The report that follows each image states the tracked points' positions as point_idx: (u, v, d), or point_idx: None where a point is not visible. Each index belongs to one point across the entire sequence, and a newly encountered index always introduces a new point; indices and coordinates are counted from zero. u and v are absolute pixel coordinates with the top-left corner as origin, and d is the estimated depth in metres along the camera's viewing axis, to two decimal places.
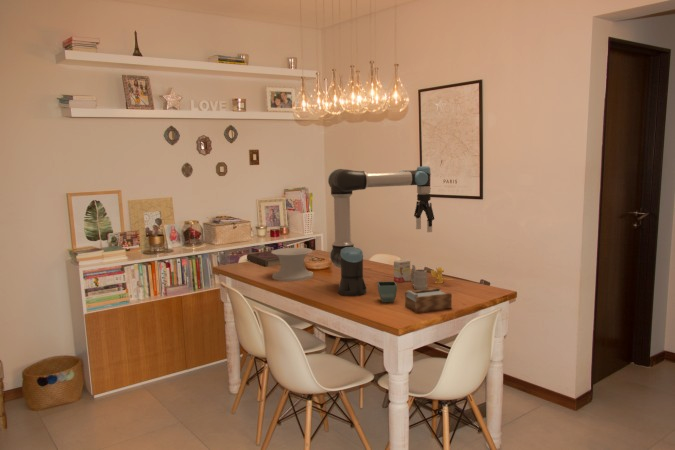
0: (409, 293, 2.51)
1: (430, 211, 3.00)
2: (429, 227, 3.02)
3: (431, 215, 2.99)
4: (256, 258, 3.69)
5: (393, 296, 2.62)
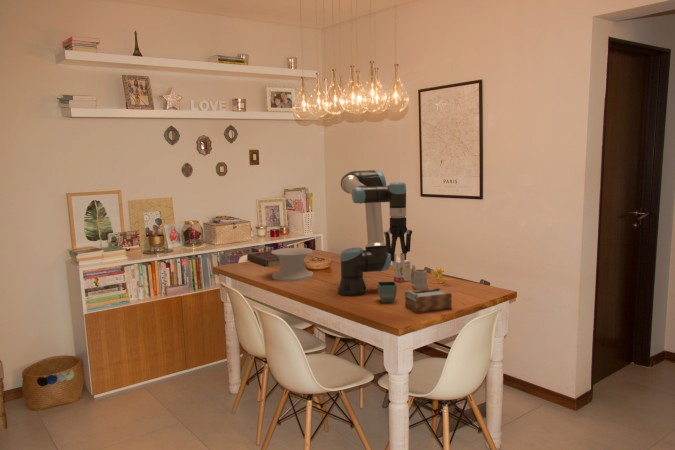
0: (409, 293, 2.51)
1: (386, 242, 2.43)
2: (393, 262, 2.46)
3: (387, 248, 2.44)
4: (256, 258, 3.69)
5: (393, 296, 2.62)
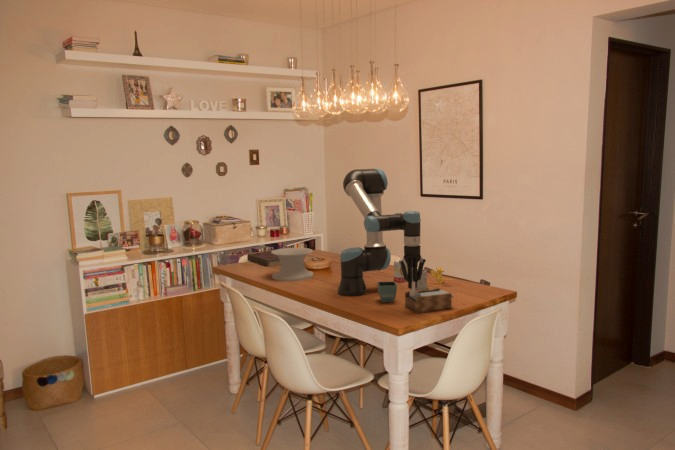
0: None
1: (402, 270, 2.48)
2: (410, 289, 2.50)
3: (404, 276, 2.48)
4: (257, 258, 3.69)
5: (393, 296, 2.62)
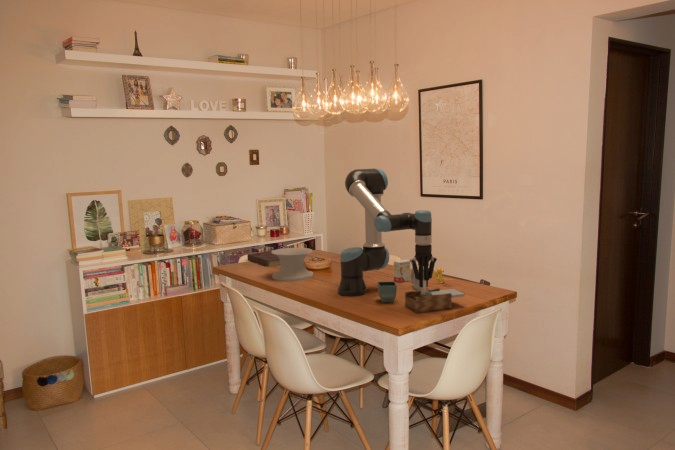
0: None
1: (413, 269, 2.49)
2: (421, 288, 2.52)
3: (415, 274, 2.50)
4: (257, 258, 3.69)
5: (393, 296, 2.62)
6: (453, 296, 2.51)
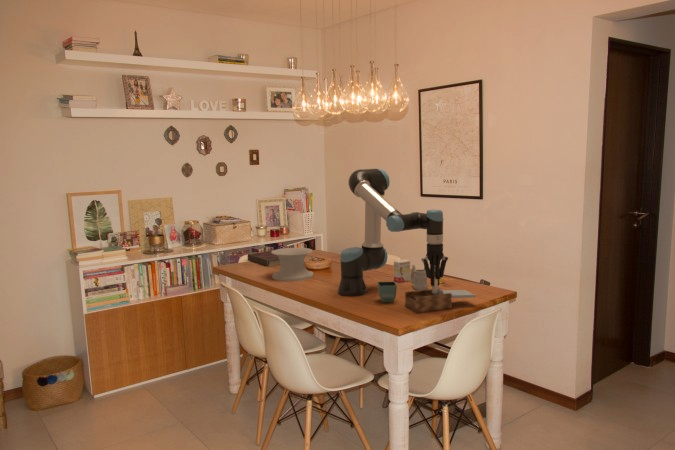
0: None
1: (425, 268, 2.51)
2: (433, 286, 2.53)
3: (426, 273, 2.51)
4: (257, 258, 3.69)
5: (393, 296, 2.62)
6: (464, 296, 2.53)
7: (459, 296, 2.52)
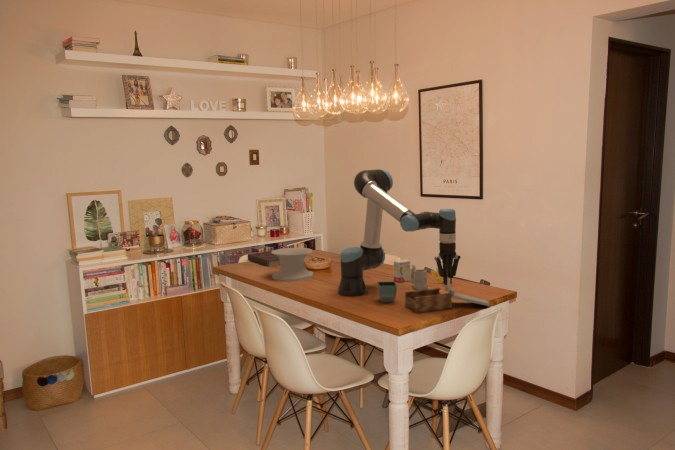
0: None
1: (438, 266, 2.53)
2: (445, 285, 2.56)
3: (439, 272, 2.54)
4: (257, 258, 3.69)
5: (393, 296, 2.62)
6: (476, 302, 2.50)
7: (471, 300, 2.50)
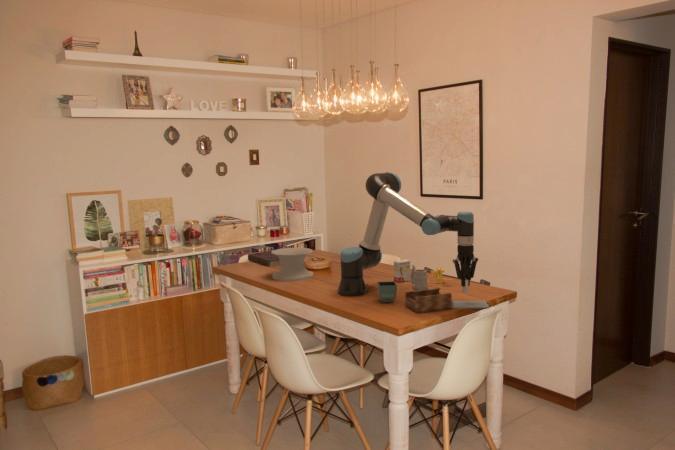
0: None
1: (456, 269, 2.56)
2: (463, 287, 2.59)
3: (457, 274, 2.57)
4: (258, 258, 3.69)
5: (393, 296, 2.62)
6: None
7: (470, 307, 2.51)
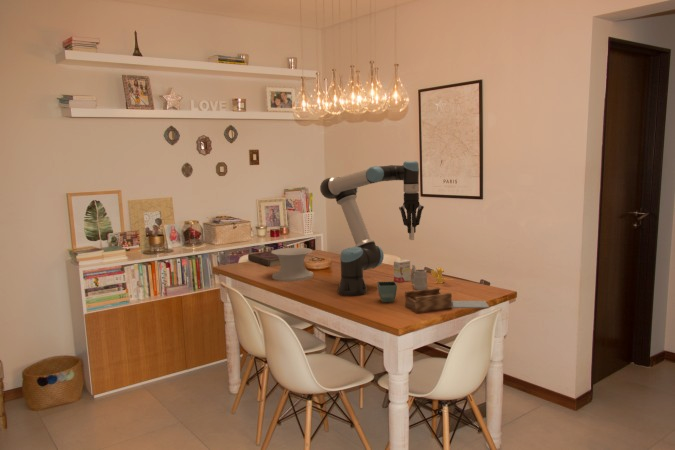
0: None
1: (402, 216, 2.68)
2: (409, 234, 2.70)
3: (403, 221, 2.68)
4: (258, 258, 3.69)
5: (393, 296, 2.62)
6: None
7: (470, 307, 2.51)
